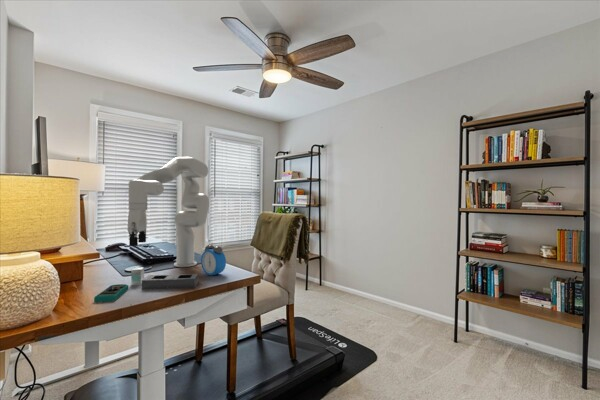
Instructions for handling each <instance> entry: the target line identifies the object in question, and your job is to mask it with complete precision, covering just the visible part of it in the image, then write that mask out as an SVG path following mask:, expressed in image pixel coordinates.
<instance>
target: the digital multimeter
mask: <svg viewBox="0 0 600 400" xmlns="http://www.w3.org/2000/svg"><path fill="white" fill-rule="evenodd" d="M127 291H129V284H123V283H122V284H120V283H119V284H112V285H110V286H108V287H107V288H105V289H104V290H102V291H101V292H100V293H98V294H97V295H95V296H94V297H93V301H94V303H109V302H116V301H117V299H118V298H120V297H121V296H122V295H123V294H124V293H126V292H127Z"/></svg>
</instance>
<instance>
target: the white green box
mask: <svg viewBox="0 0 600 400" xmlns="http://www.w3.org/2000/svg"><path fill="white" fill-rule="evenodd" d="M130 271H131V273H130V275H131V277H130V278H131V281H130V285H131V286H142V280H143V279H144V278H145V267H142V266H141V267H134V268H132V269H131V270H130Z"/></svg>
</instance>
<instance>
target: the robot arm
mask: <svg viewBox="0 0 600 400" xmlns="http://www.w3.org/2000/svg"><path fill="white" fill-rule="evenodd" d="M208 174H209V167H208V166H207V164H206V163H204V162H203V161H201V160H199V159H197V158H195V157H191V156H177V157H174V158H172V159H171V160H170V161H169V162H167V163H166V164H164V165H163V166H162V167H160V168H158V169H157V168H156V169H155V170H152V171H150V172H148V173H145V174H143V175H141V176H139V177H138V178H136V179H130V180H129V182H128V215H127V229H126V230H127V232H128V234H129V235H128V237H129V240H128V241H129V247H137V246H138V243H146V242H147V226H148V225H147V223H148V222H147V221H148V220H147V211H148V197H157V196H160V195H162V193H164V191H165V190H164V189H165V188H164V185H163V184H167V183H170V182H173V181H174V180H175V179H177V178H178V177H179V176H181V178H182V180H183V183H184V189H183V194H182V198H181V204H180V205H181V207H182V208H183V209H186V210H180V211H178V212H177V213H176V214H175V216H174V222H175V227H176V230H175V231H176V262H174V263H173V267H175V268H189V267H194V266H197V264H198V262H197V260H195V232H194V229H193V228H195V229H196V228H197V229H198V228H200V229H201V228H202V227H204V226H205V225H206V221H207V218H208V212H209V208H210V199H209V196H208V195H207V194H206V193H200V184H199V181H197V179H203V178H206V177H207V176H208ZM196 178H197V179H196Z"/></svg>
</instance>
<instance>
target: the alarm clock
mask: <svg viewBox="0 0 600 400" xmlns="http://www.w3.org/2000/svg"><path fill="white" fill-rule="evenodd" d="M223 251H224V250H223V248H222V247H221V246H220V245H219V246H218V245H217V246H214V245H213V244H208V245H206V246H205V248H204V251H203V252H202V255H201V258H200V264H201V268H202V270H203V272H204V273H205V275H208V276H214V277H215V276H216V275H217V274H218V275H219V274H220V273H222V272H224V270H225V268H226V265H227V259H226V255H225V253H224V252H223Z"/></svg>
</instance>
